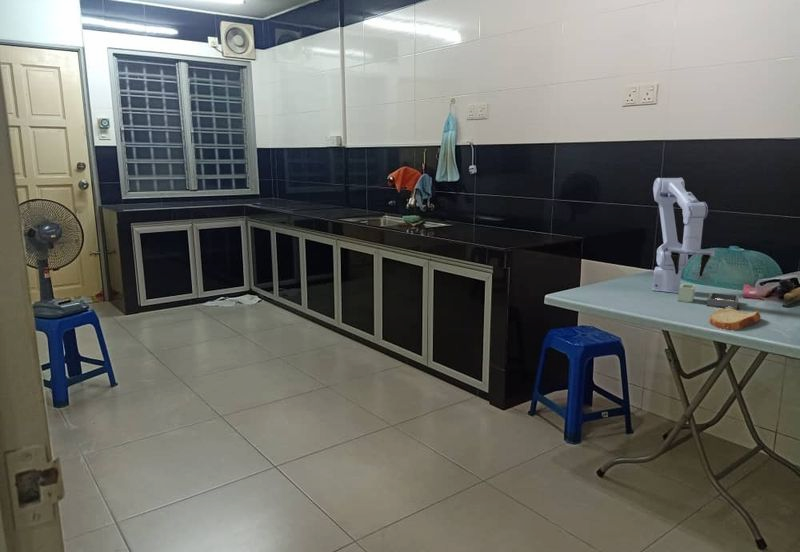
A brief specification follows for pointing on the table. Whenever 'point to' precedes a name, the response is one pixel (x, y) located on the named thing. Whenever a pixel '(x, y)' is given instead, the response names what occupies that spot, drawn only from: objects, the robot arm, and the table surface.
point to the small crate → (686, 293)
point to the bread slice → (733, 319)
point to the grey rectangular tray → (722, 303)
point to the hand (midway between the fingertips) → (688, 274)
